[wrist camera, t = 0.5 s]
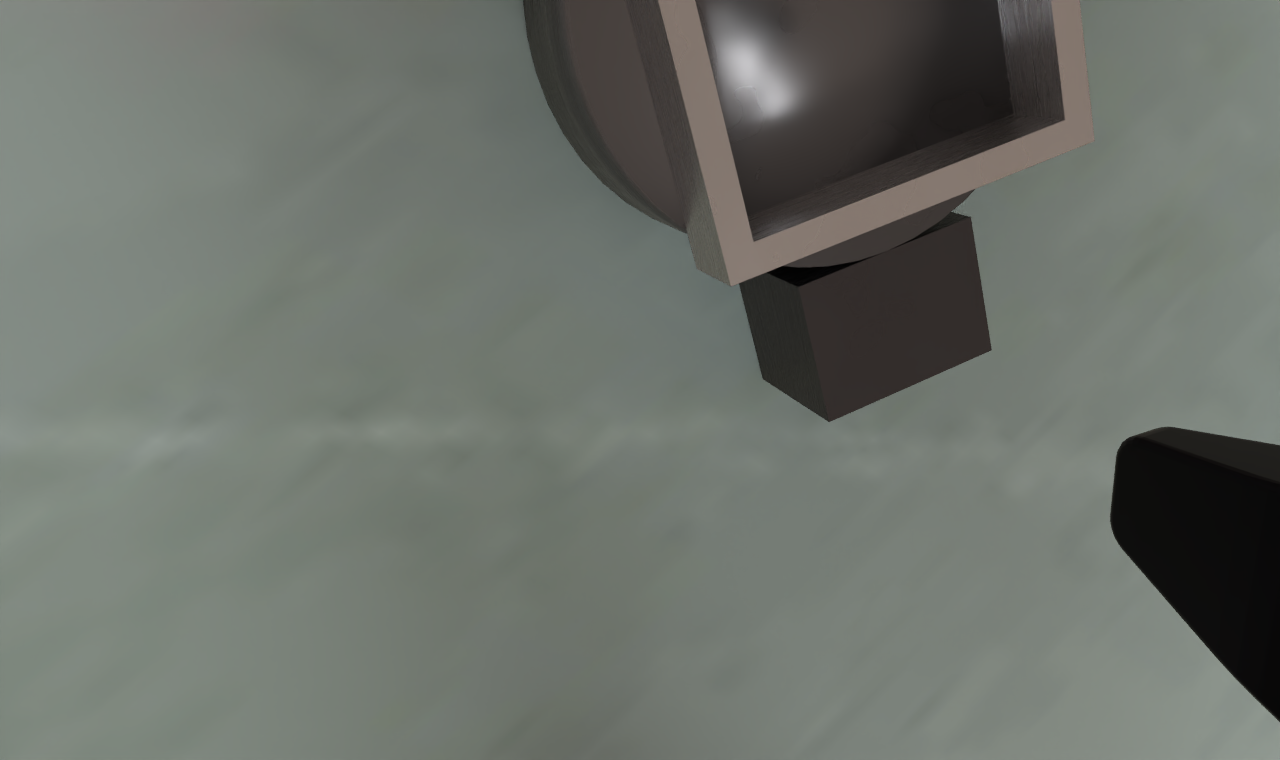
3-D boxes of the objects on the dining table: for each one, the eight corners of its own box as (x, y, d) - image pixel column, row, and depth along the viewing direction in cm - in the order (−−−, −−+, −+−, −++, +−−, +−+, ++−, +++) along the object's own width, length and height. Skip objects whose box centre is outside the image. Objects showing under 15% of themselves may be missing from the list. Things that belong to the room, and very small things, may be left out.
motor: (1015, 271, 27) (1158, 315, 23) (644, 429, 24) (730, 509, 20) (928, -338, 21) (1091, -421, 17) (449, -211, 19) (511, -273, 15)
